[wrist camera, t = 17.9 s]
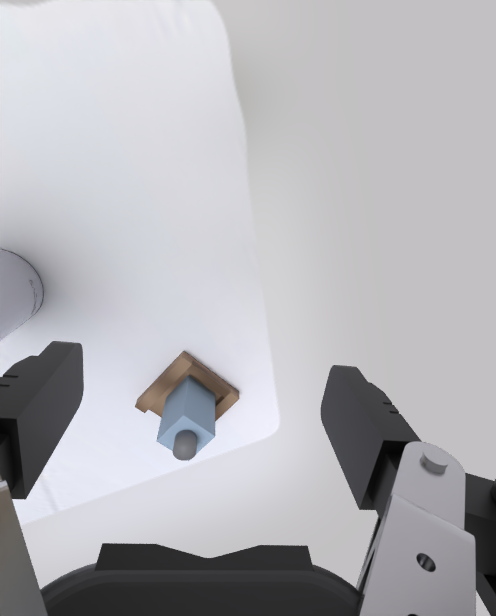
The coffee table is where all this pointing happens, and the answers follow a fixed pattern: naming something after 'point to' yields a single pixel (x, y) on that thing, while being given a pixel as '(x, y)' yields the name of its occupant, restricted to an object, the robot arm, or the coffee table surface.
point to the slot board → (175, 375)
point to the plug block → (187, 419)
